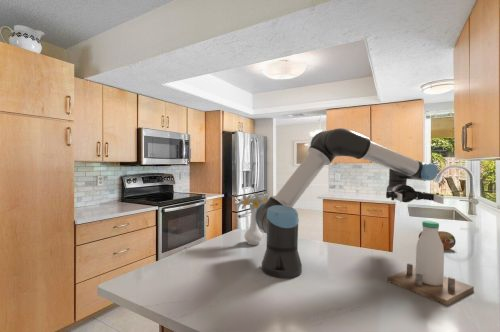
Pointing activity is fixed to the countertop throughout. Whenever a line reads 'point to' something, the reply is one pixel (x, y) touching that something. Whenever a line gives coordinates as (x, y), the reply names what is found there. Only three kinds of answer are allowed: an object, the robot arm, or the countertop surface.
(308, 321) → the countertop surface
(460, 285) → the peg board
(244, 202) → the flower vase
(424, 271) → the milk bottle
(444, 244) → the tin
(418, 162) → the robot arm
